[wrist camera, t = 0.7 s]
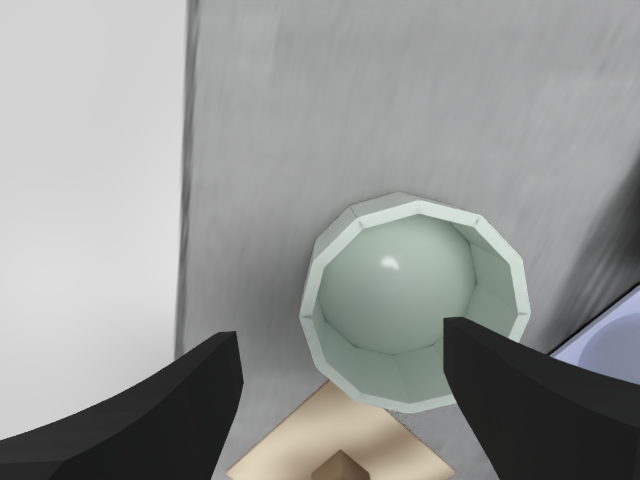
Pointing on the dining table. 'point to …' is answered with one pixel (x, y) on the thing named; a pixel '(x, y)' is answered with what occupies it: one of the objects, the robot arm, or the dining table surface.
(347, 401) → the birch lid
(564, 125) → the dining table surface
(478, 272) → the celadon bowl
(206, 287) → the dining table surface
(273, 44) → the dining table surface
